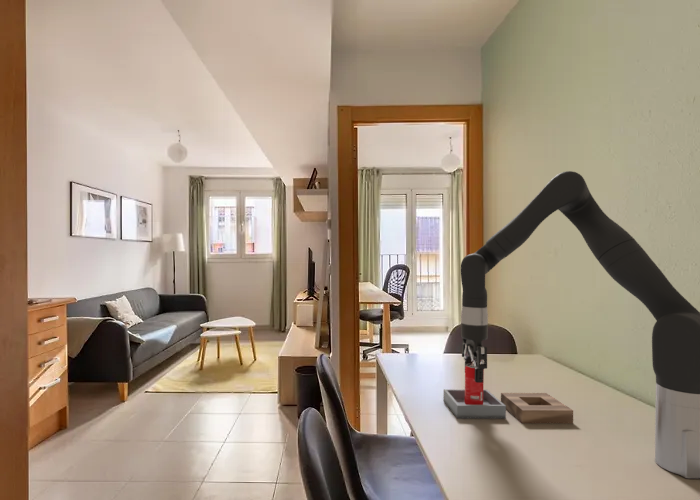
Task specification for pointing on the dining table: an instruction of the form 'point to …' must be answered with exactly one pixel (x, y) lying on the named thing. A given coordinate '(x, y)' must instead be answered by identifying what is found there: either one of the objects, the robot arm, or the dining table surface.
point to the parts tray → (489, 409)
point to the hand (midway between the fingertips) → (473, 377)
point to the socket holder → (536, 408)
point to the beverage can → (473, 387)
